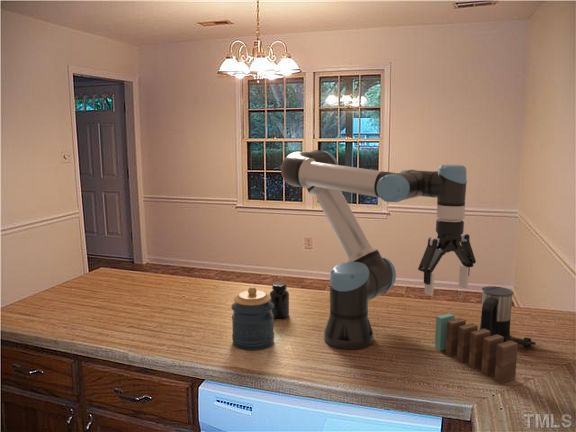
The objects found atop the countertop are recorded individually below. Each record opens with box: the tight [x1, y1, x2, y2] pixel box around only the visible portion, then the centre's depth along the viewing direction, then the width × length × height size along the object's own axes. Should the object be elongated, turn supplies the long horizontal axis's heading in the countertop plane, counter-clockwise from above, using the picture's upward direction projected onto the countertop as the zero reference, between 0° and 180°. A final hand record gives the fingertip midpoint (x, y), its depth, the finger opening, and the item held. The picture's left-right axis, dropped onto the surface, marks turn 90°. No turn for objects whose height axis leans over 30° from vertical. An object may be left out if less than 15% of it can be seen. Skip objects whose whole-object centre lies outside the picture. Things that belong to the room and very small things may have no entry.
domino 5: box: [481, 334, 504, 378], centre depth 126 cm, size 2×5×10 cm, turn 116°
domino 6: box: [494, 340, 519, 385], centre depth 123 cm, size 2×5×10 cm, turn 116°
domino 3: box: [456, 322, 479, 364], centre depth 134 cm, size 2×5×10 cm, turn 116°
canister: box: [230, 286, 275, 351], centre depth 146 cm, size 13×13×18 cm
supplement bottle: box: [269, 281, 290, 320], centre depth 167 cm, size 7×7×12 cm
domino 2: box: [445, 317, 467, 357], centre depth 138 cm, size 2×5×10 cm, turn 117°
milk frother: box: [479, 285, 537, 348], centre depth 146 cm, size 14×16×15 cm
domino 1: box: [434, 313, 456, 352], centre depth 142 cm, size 2×5×10 cm, turn 116°
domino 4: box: [468, 329, 490, 370], centre depth 130 cm, size 2×5×10 cm, turn 116°
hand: (446, 291), depth 140 cm, fingers open, 13 cm apart
